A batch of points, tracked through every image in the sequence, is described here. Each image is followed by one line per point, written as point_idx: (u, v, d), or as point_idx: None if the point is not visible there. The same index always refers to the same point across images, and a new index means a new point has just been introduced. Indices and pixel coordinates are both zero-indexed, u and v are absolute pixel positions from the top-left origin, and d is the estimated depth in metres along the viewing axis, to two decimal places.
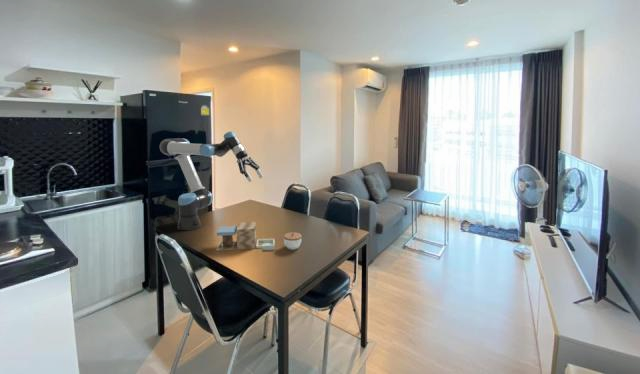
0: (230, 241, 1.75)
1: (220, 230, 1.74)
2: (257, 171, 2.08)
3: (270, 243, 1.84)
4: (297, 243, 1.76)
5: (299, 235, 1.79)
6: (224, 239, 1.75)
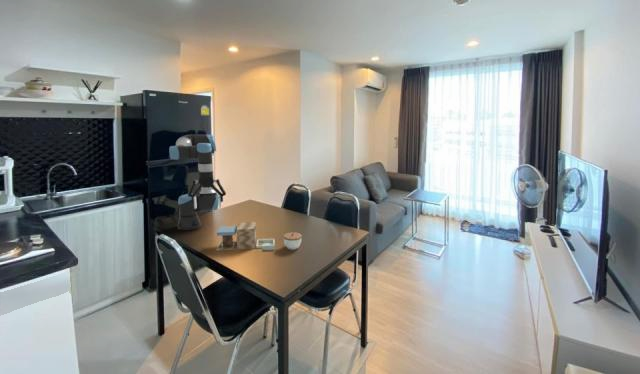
0: (230, 241, 1.75)
1: (220, 230, 1.74)
2: (219, 198, 1.73)
3: (270, 243, 1.84)
4: (297, 243, 1.76)
5: (299, 235, 1.79)
6: (224, 239, 1.75)
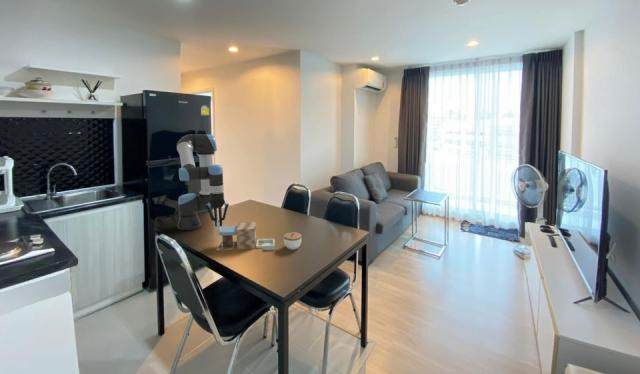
0: (230, 241, 1.75)
1: (222, 230, 1.74)
2: None
3: (270, 243, 1.84)
4: (297, 243, 1.76)
5: (299, 235, 1.79)
6: (224, 239, 1.75)
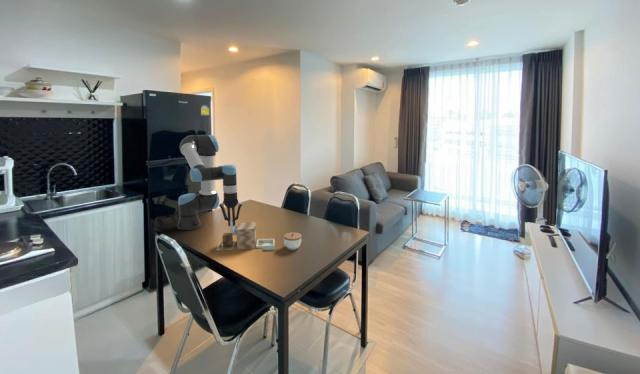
0: (230, 241, 1.75)
1: (235, 229, 1.75)
2: None
3: (270, 243, 1.84)
4: (297, 243, 1.76)
5: (299, 235, 1.79)
6: (224, 239, 1.75)
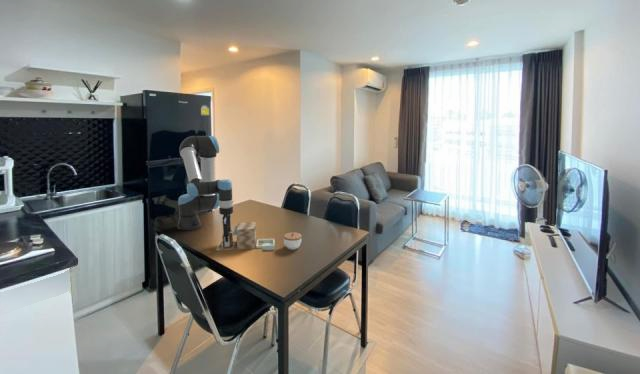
0: (230, 241, 1.75)
1: None
2: None
3: (270, 243, 1.84)
4: (297, 243, 1.76)
5: (299, 235, 1.79)
6: None
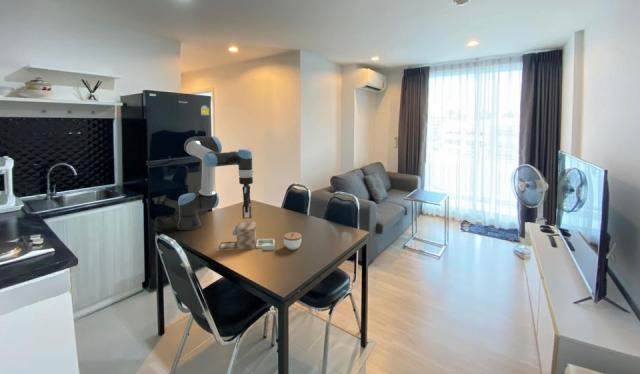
0: (250, 212, 1.73)
1: None
2: None
3: (270, 243, 1.84)
4: (297, 243, 1.76)
5: (299, 235, 1.79)
6: None
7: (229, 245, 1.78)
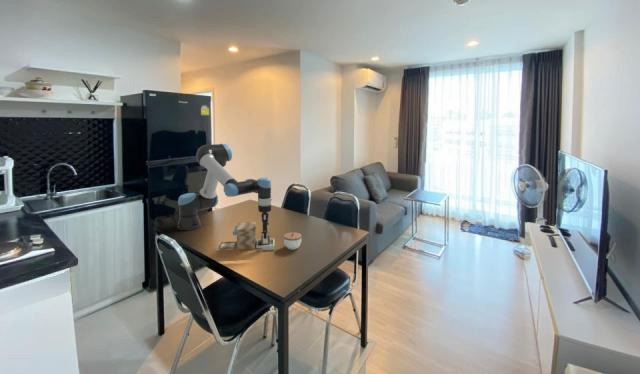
0: (268, 241, 1.78)
1: None
2: None
3: (270, 243, 1.84)
4: (297, 243, 1.76)
5: (299, 235, 1.79)
6: (262, 239, 1.78)
7: (229, 245, 1.78)
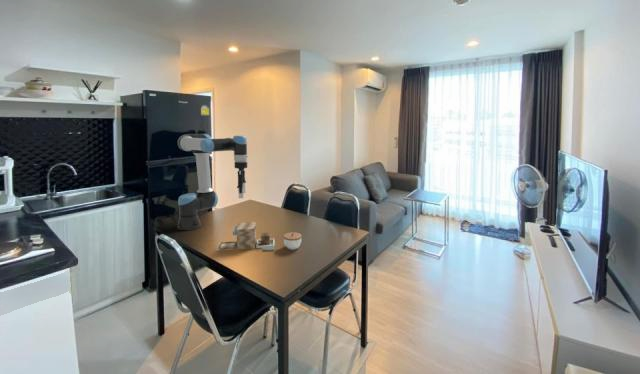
0: (268, 241, 1.78)
1: None
2: (242, 185, 1.91)
3: (270, 243, 1.84)
4: (297, 243, 1.76)
5: (299, 235, 1.79)
6: (262, 239, 1.78)
7: (229, 245, 1.78)
